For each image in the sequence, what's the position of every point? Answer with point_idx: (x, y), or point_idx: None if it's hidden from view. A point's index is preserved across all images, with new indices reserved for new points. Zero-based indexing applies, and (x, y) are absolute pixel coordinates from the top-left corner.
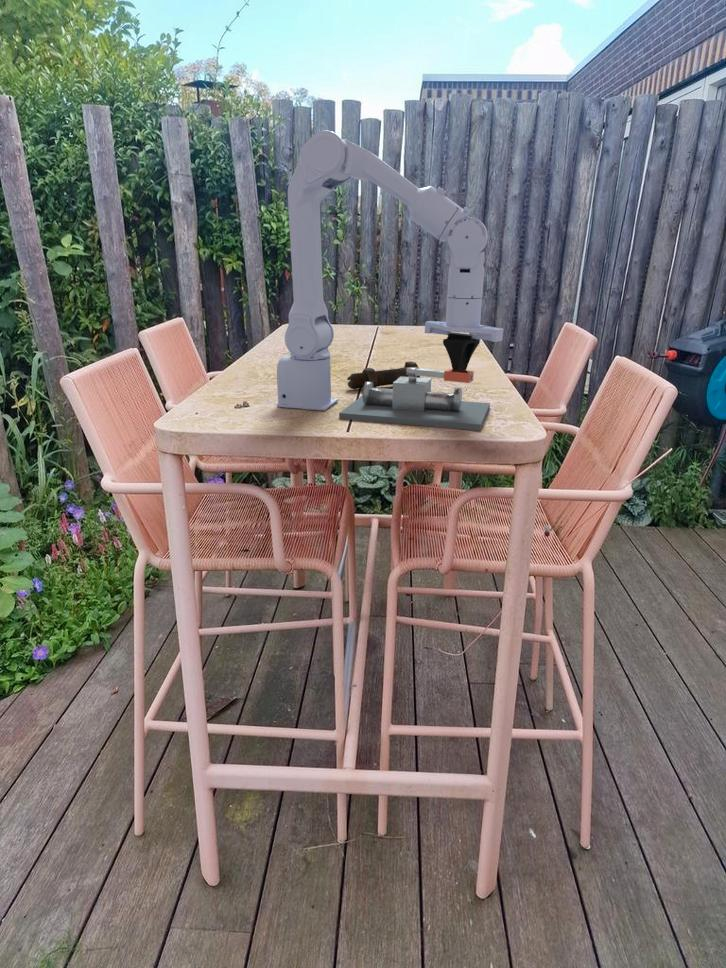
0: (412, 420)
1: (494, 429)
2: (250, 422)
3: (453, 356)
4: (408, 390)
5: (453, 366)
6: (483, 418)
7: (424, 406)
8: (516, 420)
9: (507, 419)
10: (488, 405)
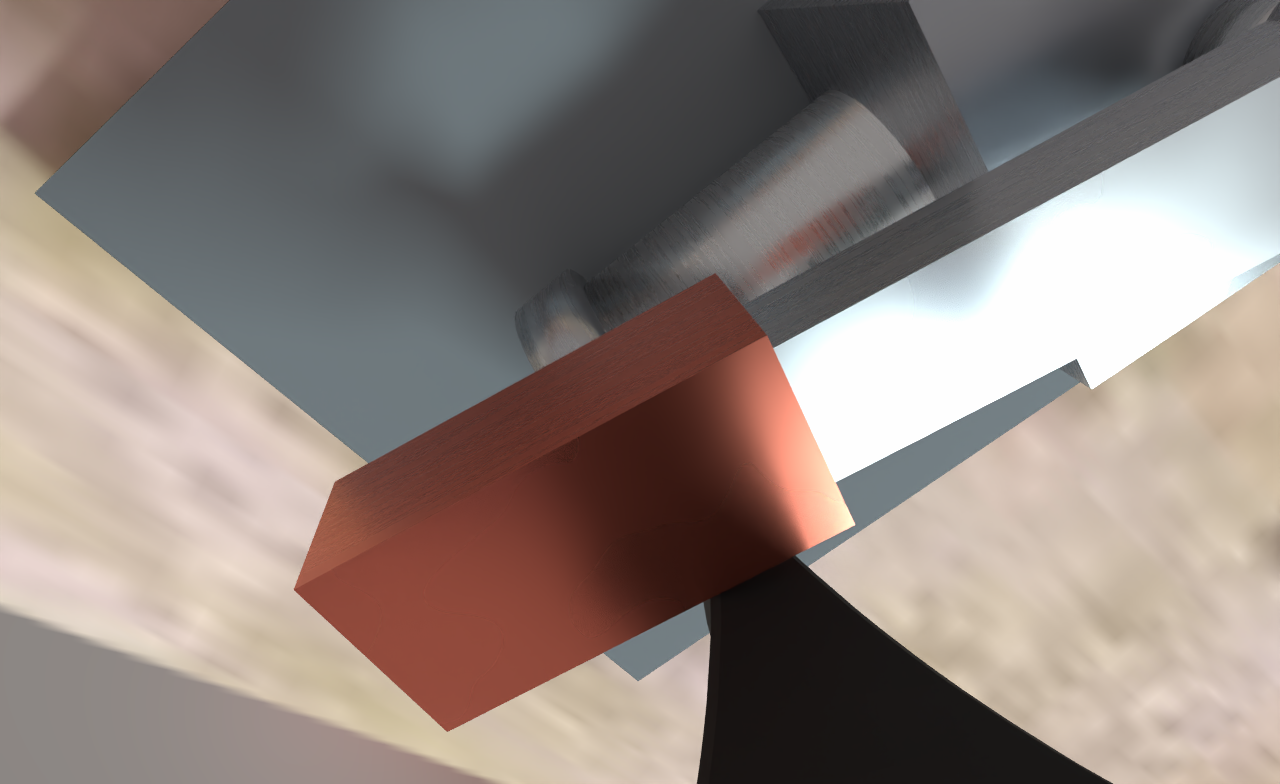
0: None
1: (78, 328)
2: None
3: (885, 766)
4: None
5: (806, 608)
6: (259, 374)
7: (786, 24)
8: (269, 621)
9: None
10: None
